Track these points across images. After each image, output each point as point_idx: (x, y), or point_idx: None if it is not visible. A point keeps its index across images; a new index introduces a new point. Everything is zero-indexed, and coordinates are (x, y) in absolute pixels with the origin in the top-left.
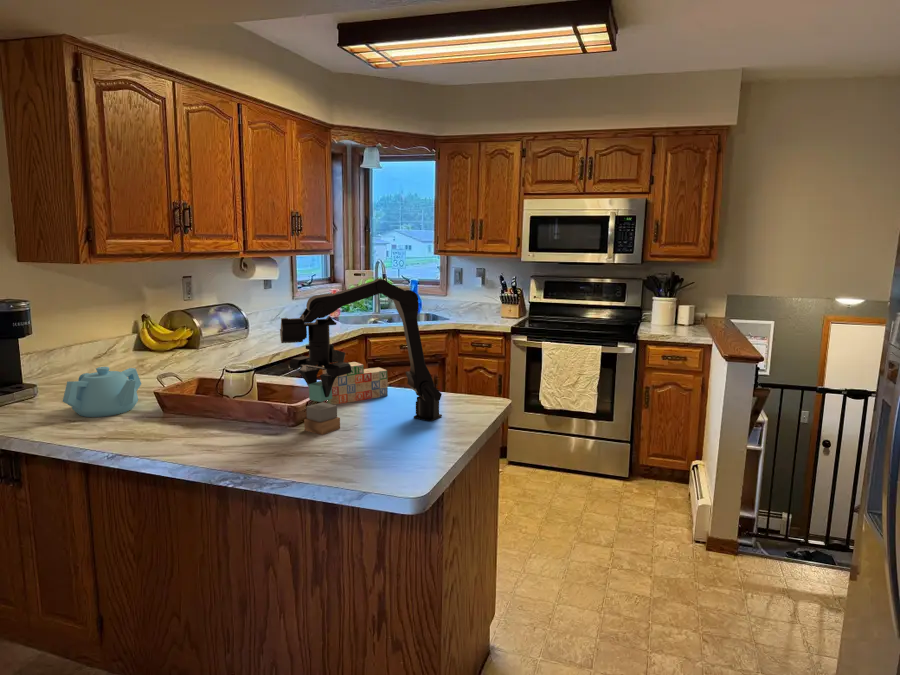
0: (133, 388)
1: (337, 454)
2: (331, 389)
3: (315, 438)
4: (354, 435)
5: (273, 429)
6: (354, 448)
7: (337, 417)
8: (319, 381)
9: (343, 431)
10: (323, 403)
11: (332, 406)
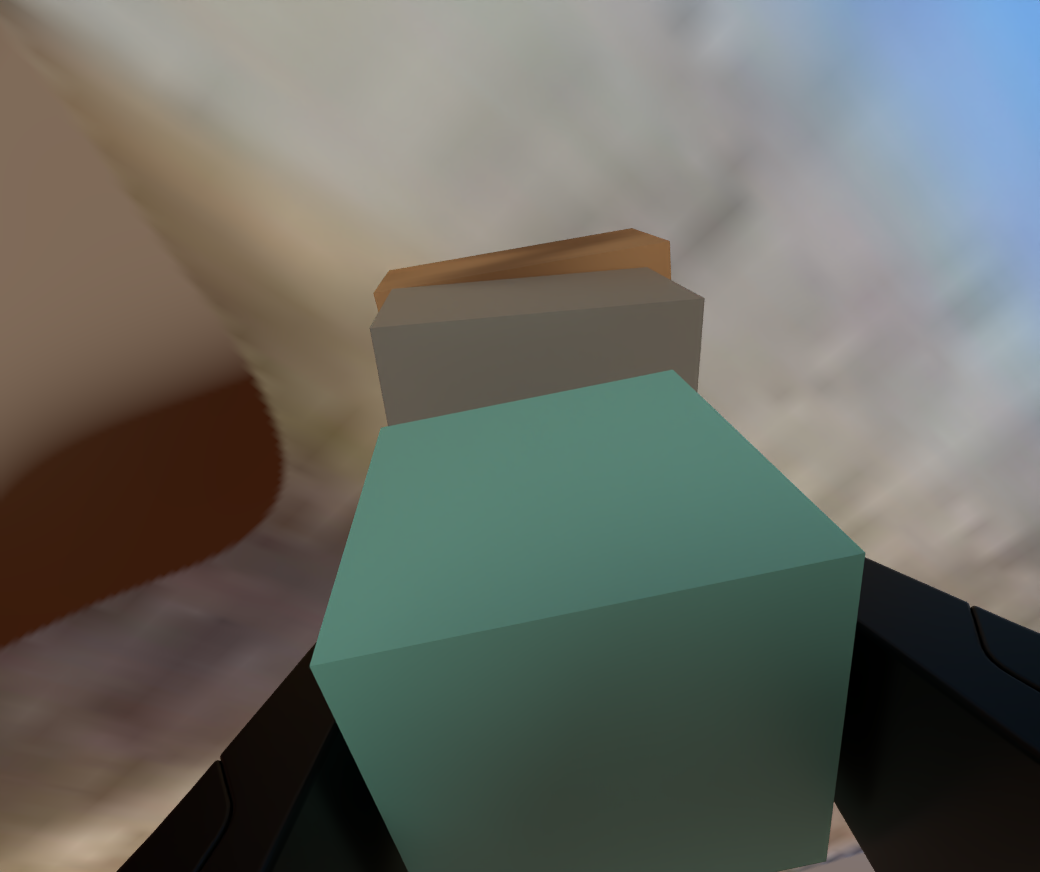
0: None
1: (989, 565)
2: (756, 468)
3: None
4: (878, 262)
5: (260, 622)
6: (1036, 442)
7: (641, 258)
8: (357, 706)
9: (722, 263)
10: (447, 371)
11: (681, 369)
